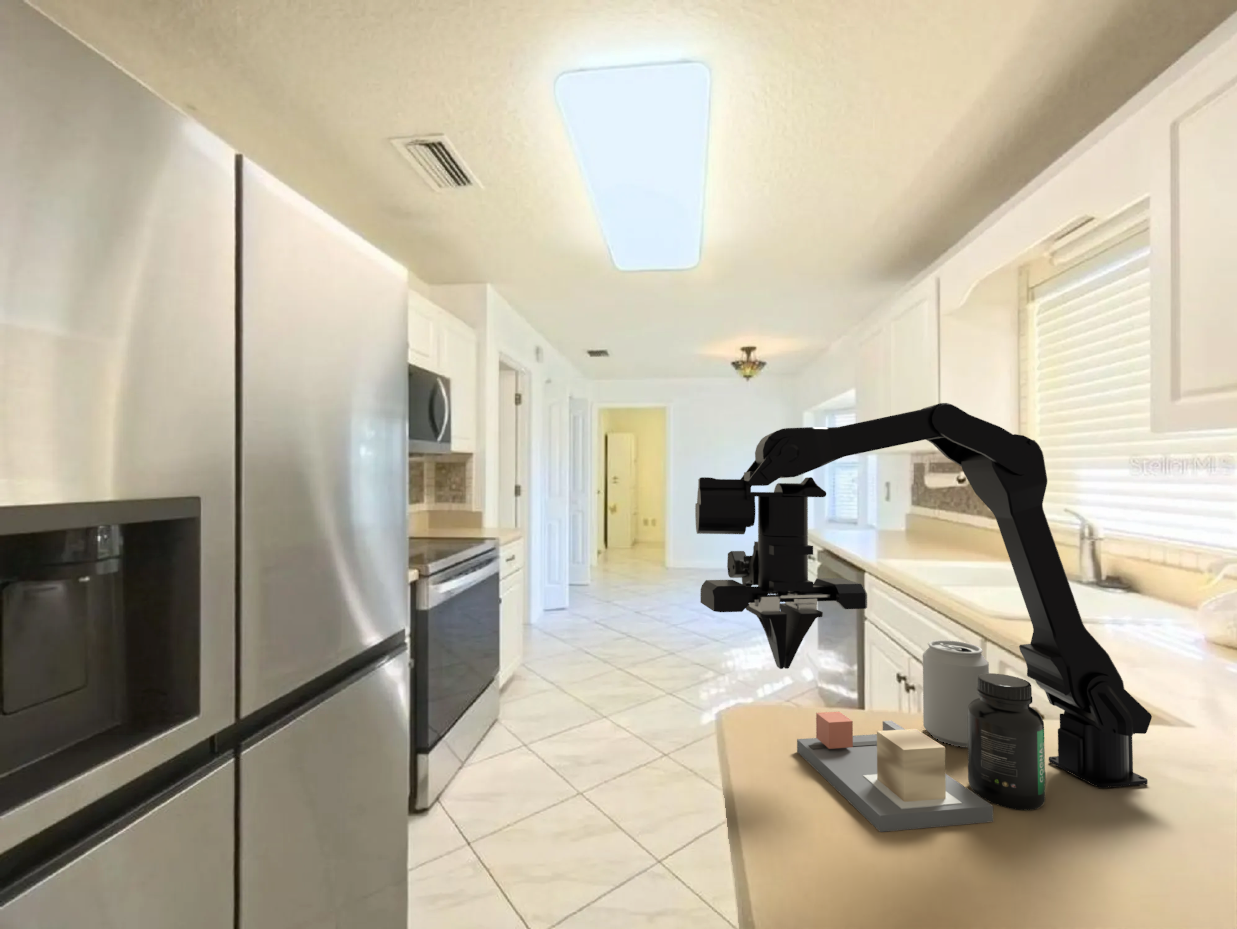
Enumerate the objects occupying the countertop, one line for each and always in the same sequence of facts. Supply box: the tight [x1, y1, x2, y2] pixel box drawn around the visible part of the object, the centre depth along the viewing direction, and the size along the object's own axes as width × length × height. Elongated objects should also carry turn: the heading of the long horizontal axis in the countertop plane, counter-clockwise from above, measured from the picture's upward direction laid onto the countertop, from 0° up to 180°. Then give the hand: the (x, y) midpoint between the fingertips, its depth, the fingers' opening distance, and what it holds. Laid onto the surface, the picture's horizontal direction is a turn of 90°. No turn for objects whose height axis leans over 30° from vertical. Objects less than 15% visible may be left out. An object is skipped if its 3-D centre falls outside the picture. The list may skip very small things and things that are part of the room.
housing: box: [876, 728, 946, 802], centre depth 60 cm, size 4×4×5 cm
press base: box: [796, 720, 994, 833], centre depth 65 cm, size 12×17×4 cm
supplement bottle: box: [967, 672, 1046, 811], centre depth 63 cm, size 7×7×12 cm
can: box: [922, 639, 990, 748], centre depth 77 cm, size 8×8×12 cm
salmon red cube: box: [815, 711, 854, 749], centre depth 70 cm, size 3×3×3 cm
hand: (782, 667), depth 70 cm, fingers closed
